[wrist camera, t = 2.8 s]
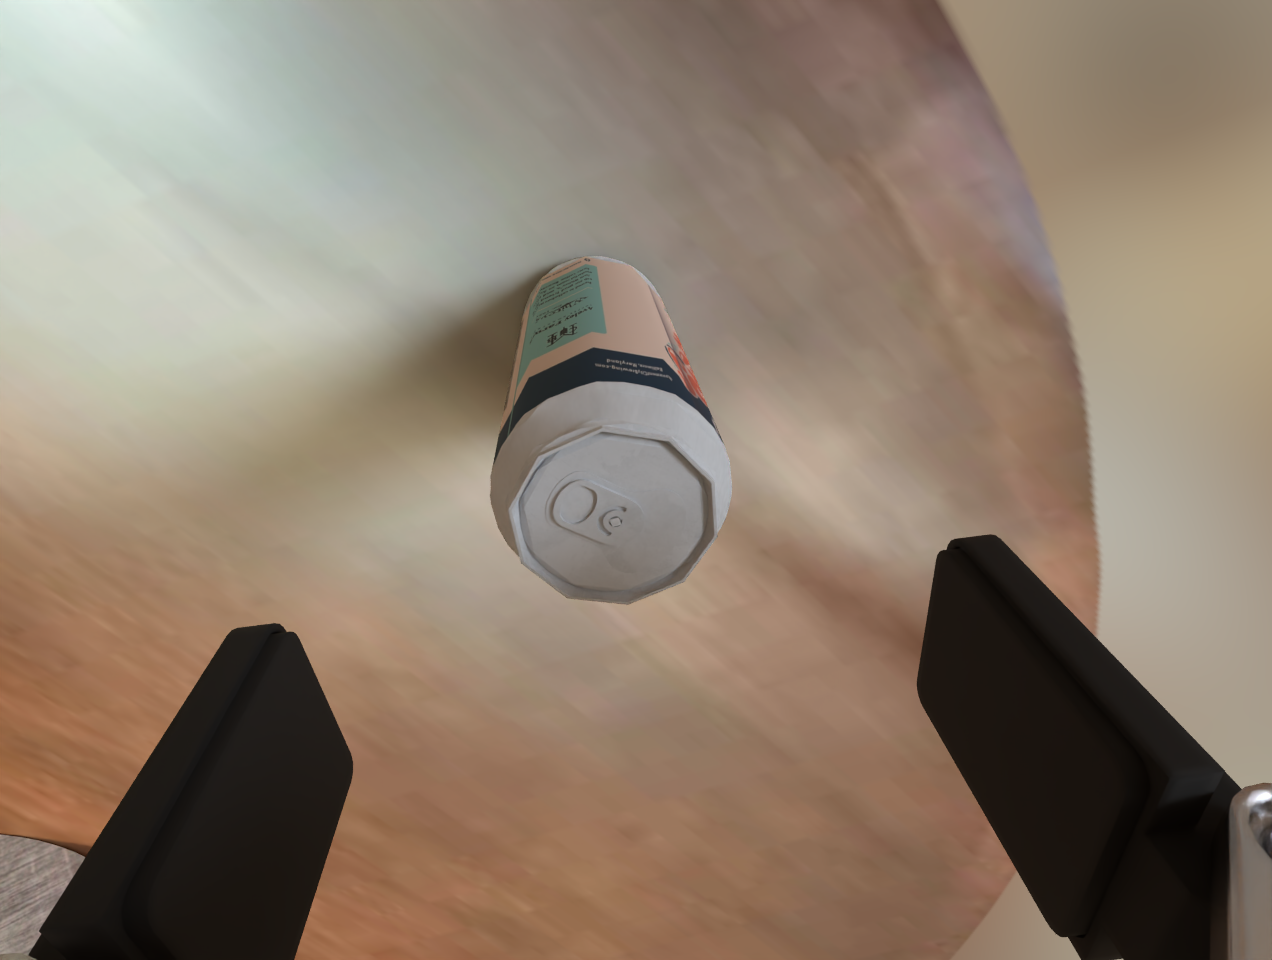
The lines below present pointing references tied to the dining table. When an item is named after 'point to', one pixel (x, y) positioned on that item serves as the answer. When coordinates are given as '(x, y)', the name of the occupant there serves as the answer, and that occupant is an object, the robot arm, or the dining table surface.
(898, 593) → the dining table surface
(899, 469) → the dining table surface
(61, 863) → the disc
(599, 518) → the beer can
